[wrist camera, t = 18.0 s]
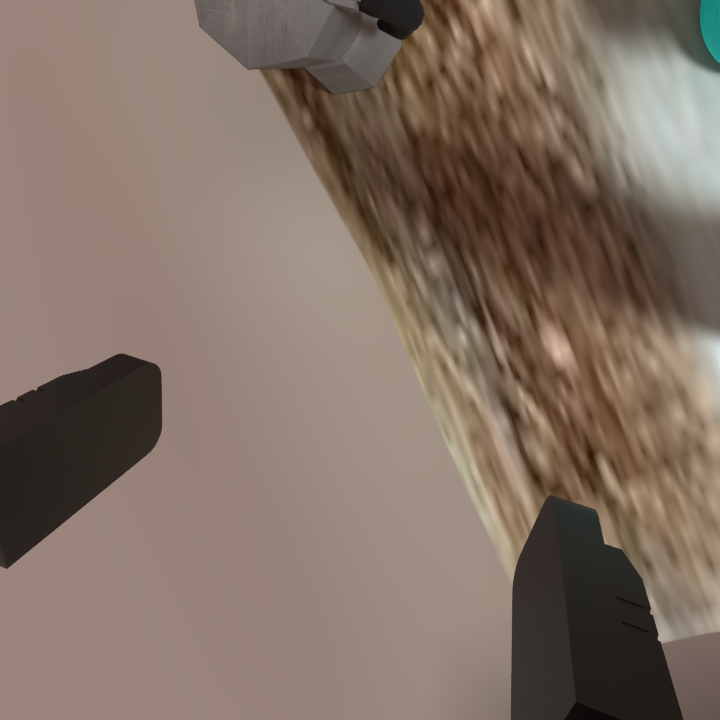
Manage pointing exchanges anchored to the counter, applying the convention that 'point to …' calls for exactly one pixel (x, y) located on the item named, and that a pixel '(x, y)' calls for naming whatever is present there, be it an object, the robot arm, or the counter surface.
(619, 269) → the counter surface
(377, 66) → the coffeepot
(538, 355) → the counter surface
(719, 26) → the donuts
